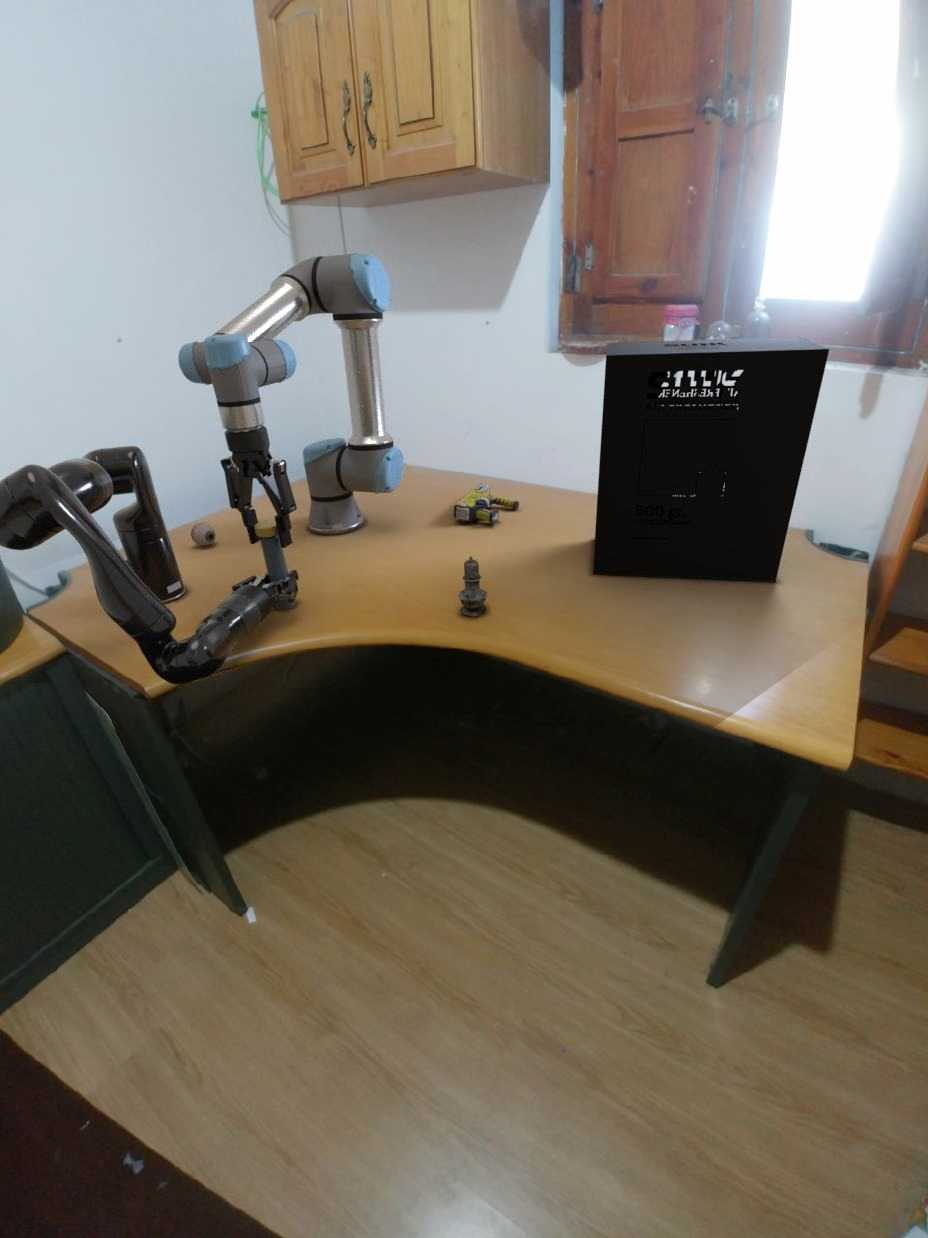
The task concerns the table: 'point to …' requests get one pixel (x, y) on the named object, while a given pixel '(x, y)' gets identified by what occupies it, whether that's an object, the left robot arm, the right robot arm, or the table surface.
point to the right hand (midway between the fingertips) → (271, 543)
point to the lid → (266, 528)
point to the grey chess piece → (472, 590)
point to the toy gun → (480, 505)
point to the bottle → (275, 564)
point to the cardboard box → (703, 455)
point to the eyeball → (203, 534)
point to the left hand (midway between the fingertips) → (285, 573)
